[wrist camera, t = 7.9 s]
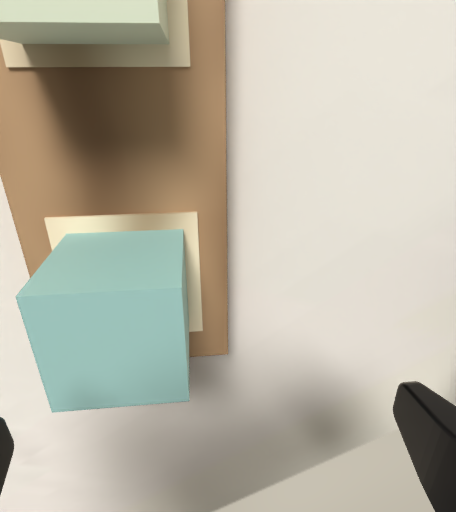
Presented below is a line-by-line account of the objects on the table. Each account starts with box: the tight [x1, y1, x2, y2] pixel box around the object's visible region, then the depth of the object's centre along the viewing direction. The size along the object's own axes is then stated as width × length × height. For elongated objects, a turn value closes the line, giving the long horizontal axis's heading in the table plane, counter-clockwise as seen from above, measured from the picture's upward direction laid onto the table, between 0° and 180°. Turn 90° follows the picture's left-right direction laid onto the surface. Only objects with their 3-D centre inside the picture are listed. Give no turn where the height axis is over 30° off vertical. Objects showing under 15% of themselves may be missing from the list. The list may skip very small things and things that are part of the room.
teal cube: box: [16, 229, 189, 412], centre depth 14 cm, size 5×5×5 cm
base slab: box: [0, 0, 228, 357], centre depth 15 cm, size 9×22×3 cm, turn 0°
